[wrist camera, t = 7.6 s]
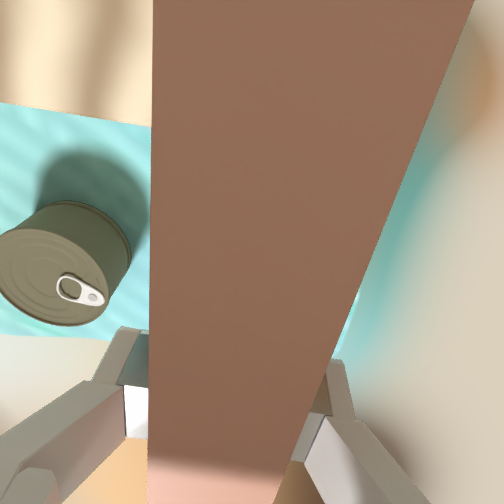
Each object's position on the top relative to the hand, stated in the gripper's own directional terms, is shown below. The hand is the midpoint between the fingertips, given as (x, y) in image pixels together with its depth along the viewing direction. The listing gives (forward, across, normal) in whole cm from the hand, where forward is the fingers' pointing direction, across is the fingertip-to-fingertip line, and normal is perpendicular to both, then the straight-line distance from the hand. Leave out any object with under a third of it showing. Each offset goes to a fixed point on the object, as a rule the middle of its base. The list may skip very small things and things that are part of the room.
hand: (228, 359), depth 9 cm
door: (+10, -1, +1) cm, 10 cm away
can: (+29, +18, +18) cm, 38 cm away
